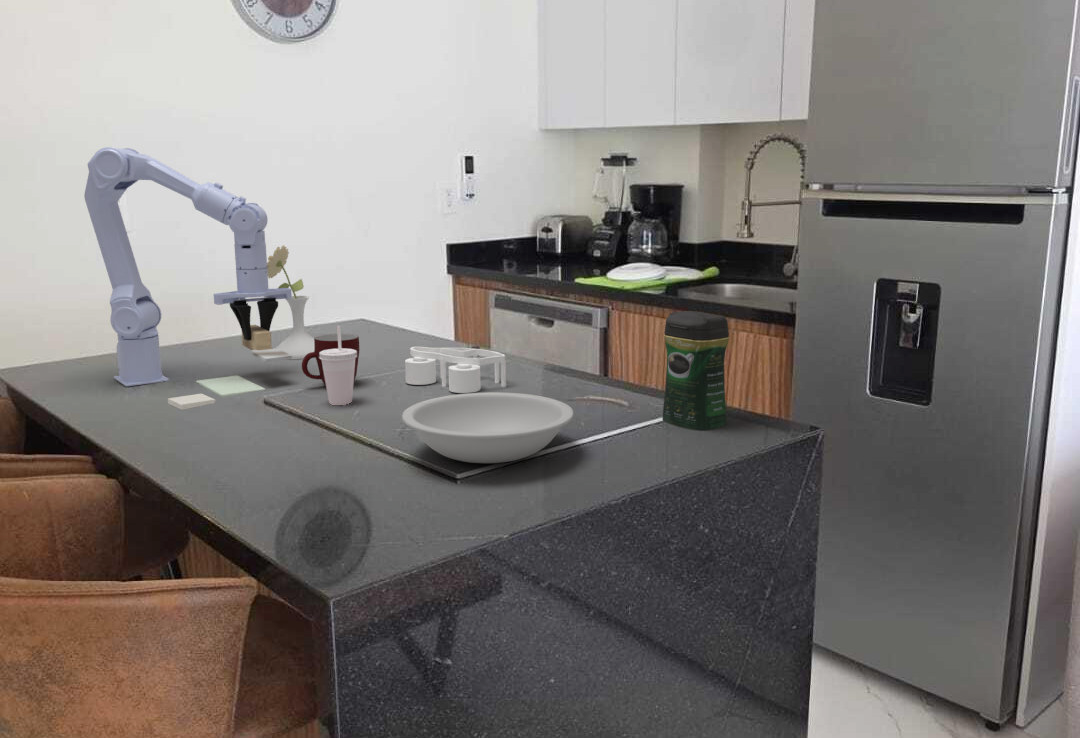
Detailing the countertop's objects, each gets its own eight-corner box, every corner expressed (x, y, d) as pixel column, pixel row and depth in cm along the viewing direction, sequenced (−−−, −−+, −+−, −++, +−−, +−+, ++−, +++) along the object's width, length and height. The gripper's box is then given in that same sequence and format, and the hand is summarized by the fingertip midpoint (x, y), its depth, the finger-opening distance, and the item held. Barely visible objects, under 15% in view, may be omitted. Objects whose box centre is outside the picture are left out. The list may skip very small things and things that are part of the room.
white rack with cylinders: (393, 389, 175) (392, 351, 174) (435, 379, 184) (434, 342, 182) (473, 405, 163) (472, 363, 162) (513, 393, 172) (513, 354, 170)
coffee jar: (734, 432, 145) (739, 313, 141) (699, 441, 140) (703, 318, 136) (688, 419, 152) (691, 306, 148) (653, 427, 147) (656, 310, 144)
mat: (196, 384, 179) (195, 380, 179) (237, 379, 184) (237, 375, 184) (222, 399, 167) (222, 395, 167) (265, 393, 172) (265, 388, 172)
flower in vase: (303, 353, 210) (297, 241, 205) (338, 359, 203) (332, 243, 198) (255, 363, 200) (247, 245, 195) (290, 369, 193) (283, 247, 188)
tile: (167, 398, 164) (181, 404, 160) (201, 393, 168) (215, 399, 164) (168, 406, 164) (181, 412, 160) (201, 400, 168) (215, 406, 164)
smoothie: (367, 404, 163) (363, 325, 161) (344, 412, 158) (340, 330, 155) (337, 400, 166) (333, 322, 163) (314, 408, 160) (309, 328, 157)
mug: (311, 398, 168) (308, 343, 166) (298, 390, 174) (295, 337, 172) (367, 391, 173) (365, 338, 171) (352, 383, 180) (349, 332, 178)
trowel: (236, 345, 183) (235, 326, 182) (261, 342, 186) (260, 324, 185) (265, 362, 171) (264, 341, 170) (291, 358, 174) (291, 338, 173)
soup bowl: (512, 496, 117) (511, 445, 115) (367, 465, 129) (365, 419, 128) (603, 448, 137) (604, 404, 135) (470, 426, 149) (469, 385, 148)
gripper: (220, 272, 171) (225, 345, 173) (296, 267, 179) (300, 337, 182) (208, 269, 176) (213, 340, 179) (282, 264, 185) (286, 332, 187)
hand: (256, 338), depth 181 cm, fingers closed on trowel, 3 cm apart
